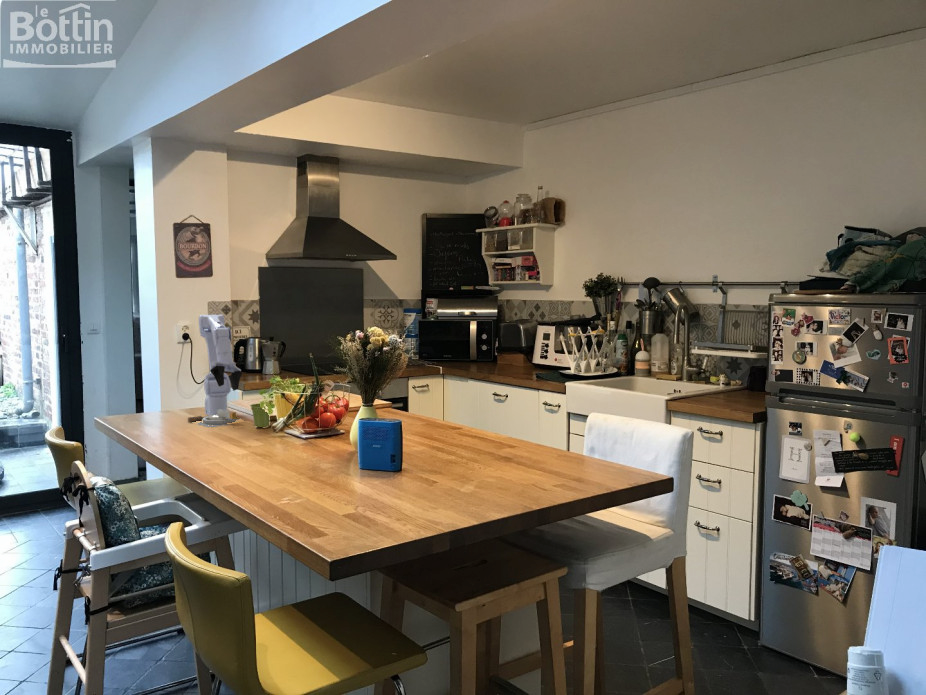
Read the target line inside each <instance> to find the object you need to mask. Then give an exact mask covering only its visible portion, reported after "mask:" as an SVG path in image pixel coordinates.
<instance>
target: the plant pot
mask: <svg viewBox="0 0 926 695" xmlns="http://www.w3.org/2000/svg"><path fill="white" fill-rule="evenodd" d="M249 406H250V408H251V409H250V410H251V411H252V416H253V417H252V418H253V423H254V427H255V426H257V427H266V426H269V415H268V413H267V412H265V411H264V410H263V409H262V408H261V407H260V403H252V404H250V405H249Z"/></svg>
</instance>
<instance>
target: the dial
mask: <svg viewBox="0 0 926 695" xmlns="http://www.w3.org/2000/svg"><path fill="white" fill-rule="evenodd" d="M208 416H209V420H226V419H235V418H237V412H236V411H232V410H228V409H227V410H223V409H218V410H217V414H213V415H208Z"/></svg>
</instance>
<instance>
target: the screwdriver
mask: <svg viewBox="0 0 926 695" xmlns="http://www.w3.org/2000/svg"><path fill="white" fill-rule="evenodd" d="M205 417H209V415H206V416H202V415H197V416H196V415H195V416H189V417H188V418H187V423H189V422H196V421H202V420H203V418H205Z"/></svg>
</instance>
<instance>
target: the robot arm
mask: <svg viewBox="0 0 926 695" xmlns="http://www.w3.org/2000/svg"><path fill="white" fill-rule="evenodd" d="M198 328H199V334H200V337H202V338H203V339H205V344H206V347H207V348H206V349H207V357H208V364H209V365H208V366H209V373H208V374H206V375H205V377H204V379H203V382H204V384H203V385H204V394H205V395H206V397H205V399H204V413H205V415H206V414H207V415H206V416H209V415H213V414H217V410H218V409H223V410H227V411H228V395H229V394H230V392H231V389H232V391H236V390H239V386H240V385H239V384H240V380H241V377H242V376H243V371H242V369H241V368H239V367H237V366H236V362H235V361H233V352H232V344H231V342H232V330H231V327H230V326H228V327H226V325H225V315H223V314H200V315H199V316H198ZM226 372H229V373H230V375H228V374H227V373H226Z"/></svg>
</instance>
